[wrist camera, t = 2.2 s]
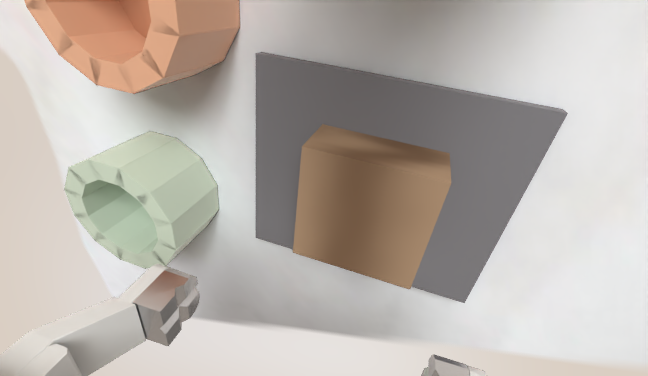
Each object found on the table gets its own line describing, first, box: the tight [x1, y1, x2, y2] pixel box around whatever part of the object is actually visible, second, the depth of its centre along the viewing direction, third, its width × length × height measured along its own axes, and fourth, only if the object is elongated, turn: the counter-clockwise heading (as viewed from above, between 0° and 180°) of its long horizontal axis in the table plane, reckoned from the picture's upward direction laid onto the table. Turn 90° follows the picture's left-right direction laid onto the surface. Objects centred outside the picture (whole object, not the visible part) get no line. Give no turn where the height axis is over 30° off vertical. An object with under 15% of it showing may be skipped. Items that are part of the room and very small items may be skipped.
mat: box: [256, 52, 568, 303], centre depth 18 cm, size 14×12×1 cm
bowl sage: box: [64, 131, 219, 269], centre depth 21 cm, size 8×8×4 cm
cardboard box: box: [293, 124, 451, 289], centre depth 16 cm, size 6×6×3 cm
